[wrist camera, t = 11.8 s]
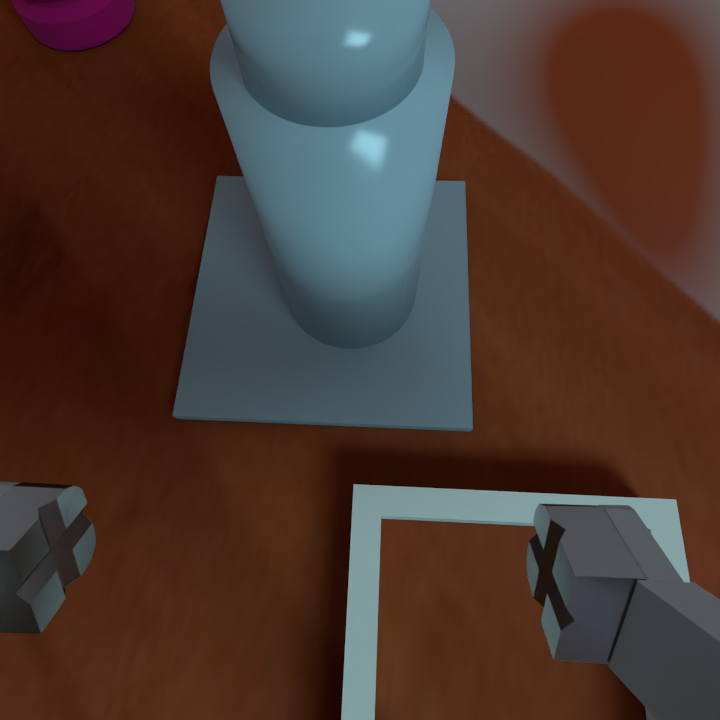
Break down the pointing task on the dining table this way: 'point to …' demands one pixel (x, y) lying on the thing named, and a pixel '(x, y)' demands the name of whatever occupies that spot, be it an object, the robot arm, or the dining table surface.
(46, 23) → the pepper mill
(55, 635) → the dining table surface
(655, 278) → the dining table surface
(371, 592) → the holder
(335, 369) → the mat
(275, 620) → the dining table surface
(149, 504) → the dining table surface
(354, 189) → the blue capped bottle
